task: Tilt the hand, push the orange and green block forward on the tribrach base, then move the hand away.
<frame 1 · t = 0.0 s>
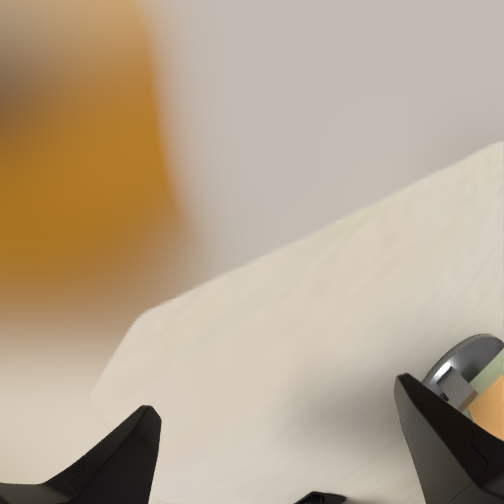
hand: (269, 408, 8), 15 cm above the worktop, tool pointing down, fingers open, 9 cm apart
orange and green block: (489, 437, 14), point 9 cm above the worktop, hinge at -12.0°
tribrach base: (462, 389, 22), on the worktop
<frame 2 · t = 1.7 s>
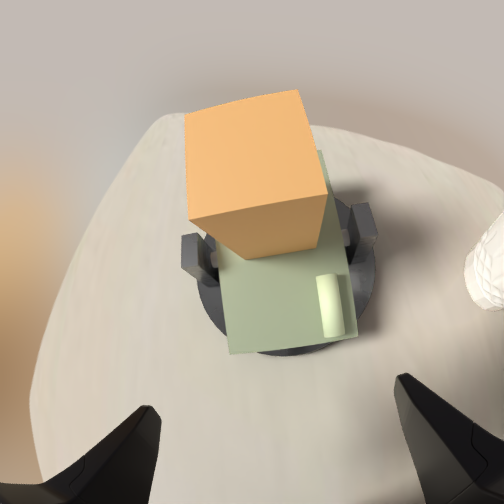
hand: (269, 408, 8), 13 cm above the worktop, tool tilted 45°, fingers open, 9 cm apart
white cup: (487, 277, 19), on the worktop
orange and green block: (272, 231, 15), point 9 cm above the worktop, hinge at -12.0°
tribrach base: (285, 266, 23), on the worktop
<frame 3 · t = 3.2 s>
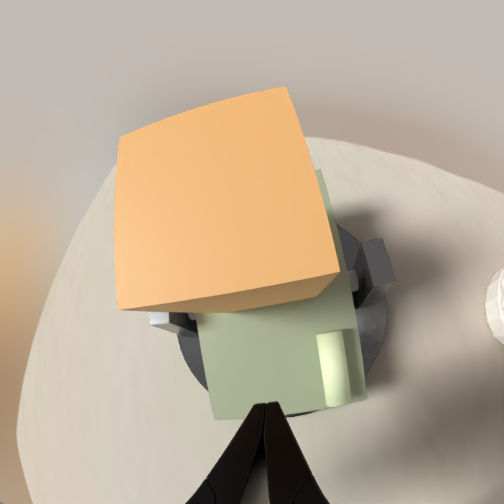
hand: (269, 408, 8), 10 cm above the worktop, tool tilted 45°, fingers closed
orange and green block: (257, 291, 11), point 9 cm above the worktop, hinge at -12.0°
tribrach base: (279, 311, 19), on the worktop
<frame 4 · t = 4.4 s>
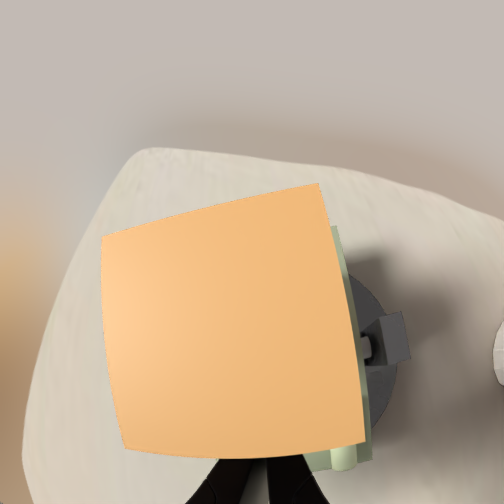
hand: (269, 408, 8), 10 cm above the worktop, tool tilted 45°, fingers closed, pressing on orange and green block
orange and green block: (267, 382, 10), point 9 cm above the worktop, hinge at -8.7°, touching gripper
tribrach base: (286, 365, 18), on the worktop
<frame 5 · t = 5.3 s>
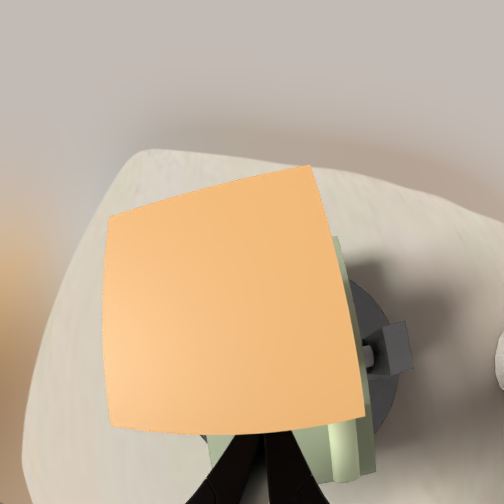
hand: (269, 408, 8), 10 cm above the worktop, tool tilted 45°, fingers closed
orange and green block: (266, 382, 9), point 9 cm above the worktop, hinge at -2.6°
tribrach base: (287, 372, 17), on the worktop
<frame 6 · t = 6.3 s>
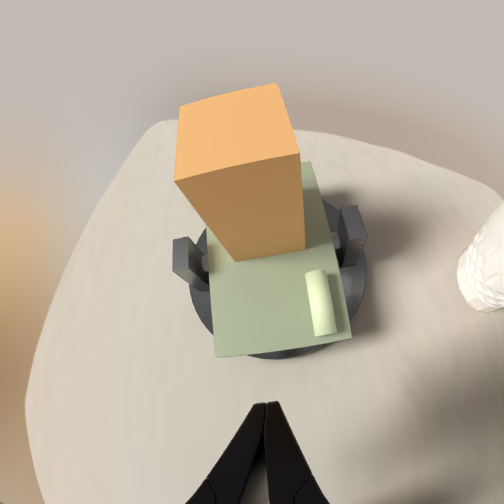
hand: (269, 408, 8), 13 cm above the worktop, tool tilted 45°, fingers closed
white cup: (480, 278, 19), on the worktop
orange and green block: (258, 220, 15), point 9 cm above the worktop, hinge at -2.6°
tribrach base: (276, 270, 24), on the worktop
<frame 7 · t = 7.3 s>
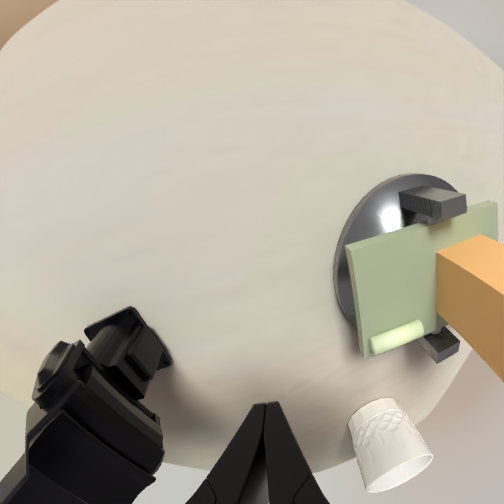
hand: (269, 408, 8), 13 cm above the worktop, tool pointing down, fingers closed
white cup: (372, 413, 27), on the worktop
orange and green block: (476, 308, 12), point 9 cm above the worktop, hinge at -2.6°
tribrach base: (411, 261, 21), on the worktop
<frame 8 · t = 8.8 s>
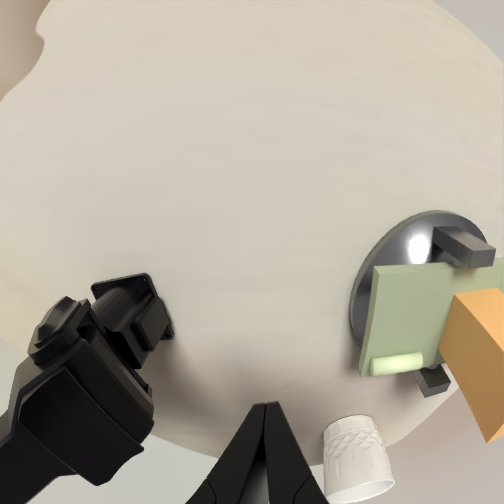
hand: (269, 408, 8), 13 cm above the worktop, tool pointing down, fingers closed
white cup: (348, 427, 28), on the worktop
orange and green block: (476, 357, 12), point 9 cm above the worktop, hinge at -2.6°
tribrach base: (426, 293, 21), on the worktop
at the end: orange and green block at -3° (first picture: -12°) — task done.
